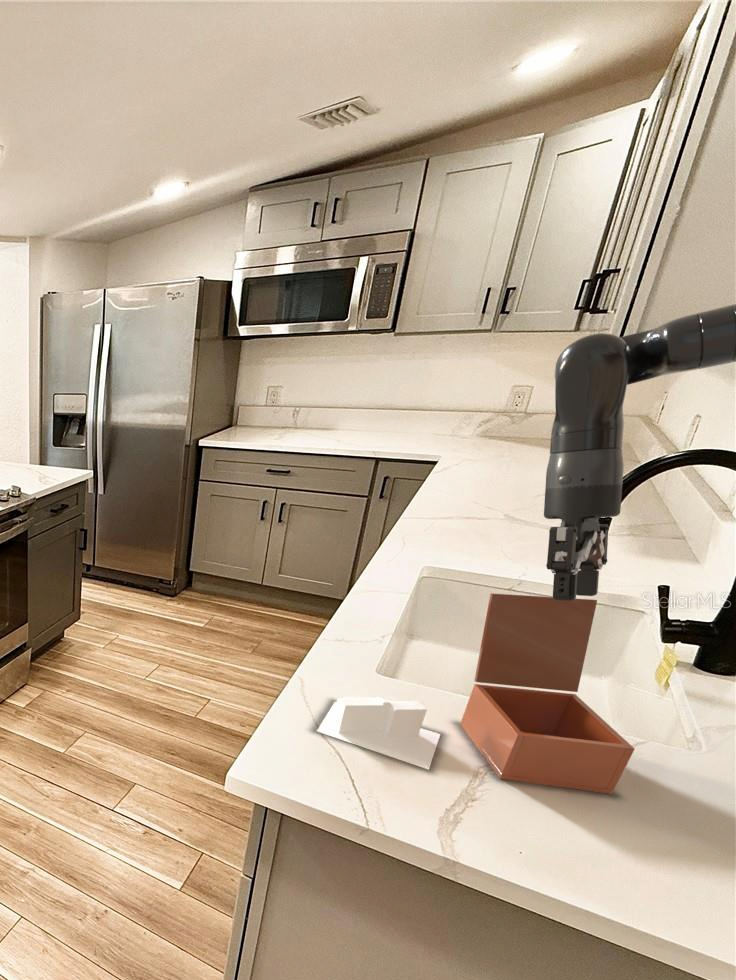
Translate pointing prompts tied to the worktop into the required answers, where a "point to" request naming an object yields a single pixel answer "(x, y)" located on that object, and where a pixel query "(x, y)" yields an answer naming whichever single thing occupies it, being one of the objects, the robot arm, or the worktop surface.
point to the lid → (535, 641)
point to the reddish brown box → (545, 738)
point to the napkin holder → (383, 727)
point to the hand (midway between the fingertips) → (575, 597)
